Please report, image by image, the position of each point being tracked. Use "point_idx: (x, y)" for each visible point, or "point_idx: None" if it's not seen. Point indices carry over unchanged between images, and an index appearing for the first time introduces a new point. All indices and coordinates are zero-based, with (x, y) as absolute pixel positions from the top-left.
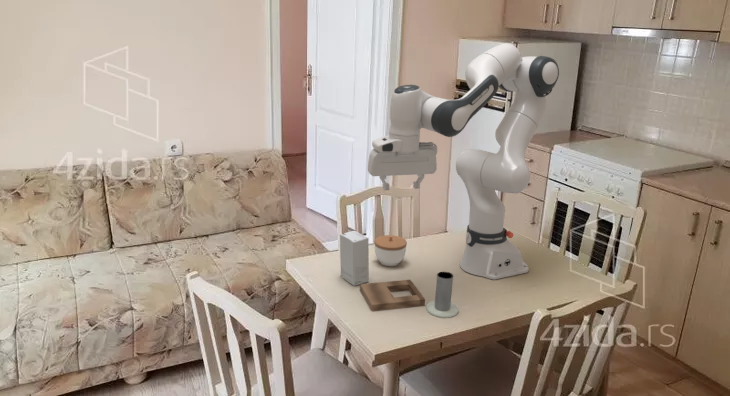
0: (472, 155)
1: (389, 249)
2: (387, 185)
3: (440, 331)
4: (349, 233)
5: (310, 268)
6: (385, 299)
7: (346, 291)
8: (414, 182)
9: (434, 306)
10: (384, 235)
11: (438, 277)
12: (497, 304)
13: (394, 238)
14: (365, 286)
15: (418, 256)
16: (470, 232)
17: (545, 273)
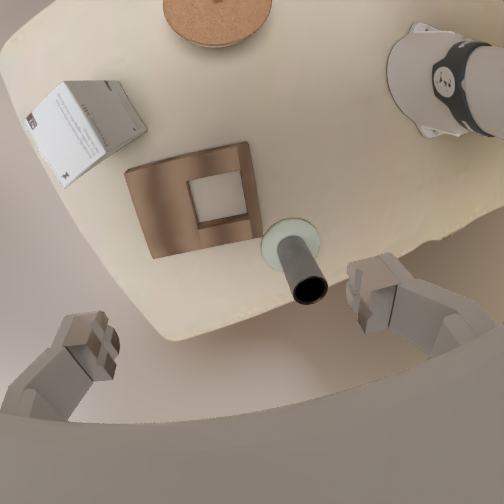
0: None
1: (205, 44)
2: (99, 376)
3: (267, 303)
4: (46, 114)
5: (27, 79)
6: (179, 239)
7: (100, 176)
8: (369, 308)
9: (277, 245)
10: None
11: (293, 296)
12: (389, 226)
13: None
14: (136, 184)
15: None
16: (458, 93)
17: None
